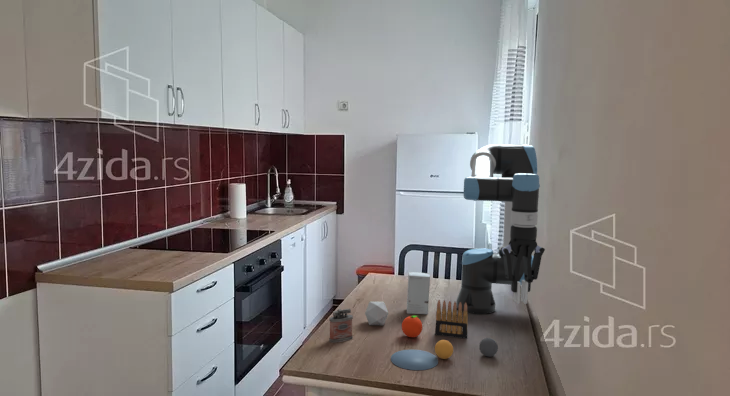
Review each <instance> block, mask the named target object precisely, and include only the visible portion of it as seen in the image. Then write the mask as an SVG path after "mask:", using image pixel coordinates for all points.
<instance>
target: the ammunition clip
mask: <svg viewBox="0 0 730 396" xmlns="http://www.w3.org/2000/svg"><path fill="white" fill-rule="evenodd" d="M447 304H448V305H447ZM447 304H446V300H445V299H444V300H443V301H442V305H441V300H440V299H438V301H437V304H436V305H437V306H436V313H435V326H434V327H435V330H434V335H435V336H442V337H449V338H458V339H468V322H469V321H468V320H469V318H468V317H469V314H468V312H467V303H466V302H465V305H464V311H462V304H461V302H460V303H459V307H458V308H457V305H456V301H454V302H453V306H452V302H451V300H449V301H448V303H447ZM457 309H458V310H457Z"/></svg>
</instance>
